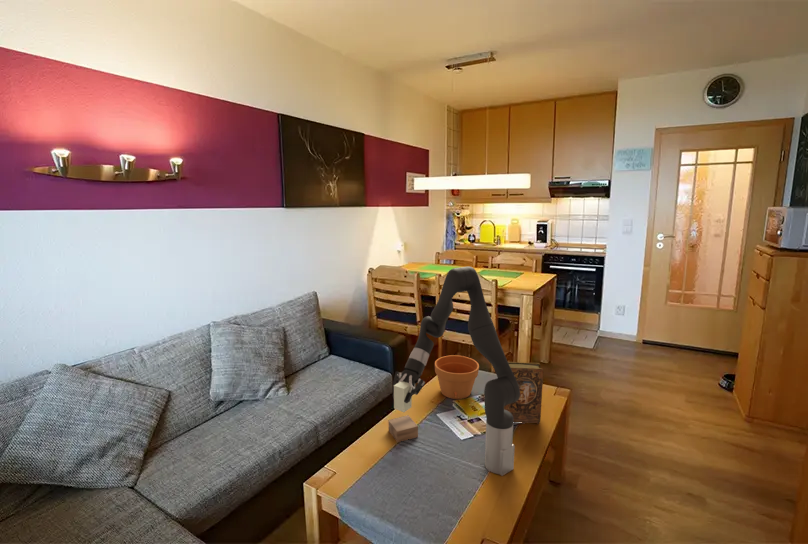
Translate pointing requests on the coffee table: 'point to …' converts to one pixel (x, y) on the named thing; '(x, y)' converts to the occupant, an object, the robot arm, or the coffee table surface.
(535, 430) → the coffee table surface
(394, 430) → the walnut base block
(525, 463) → the coffee table surface
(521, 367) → the book
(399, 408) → the cream rectangular block
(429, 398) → the coffee table surface
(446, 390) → the flower pot
